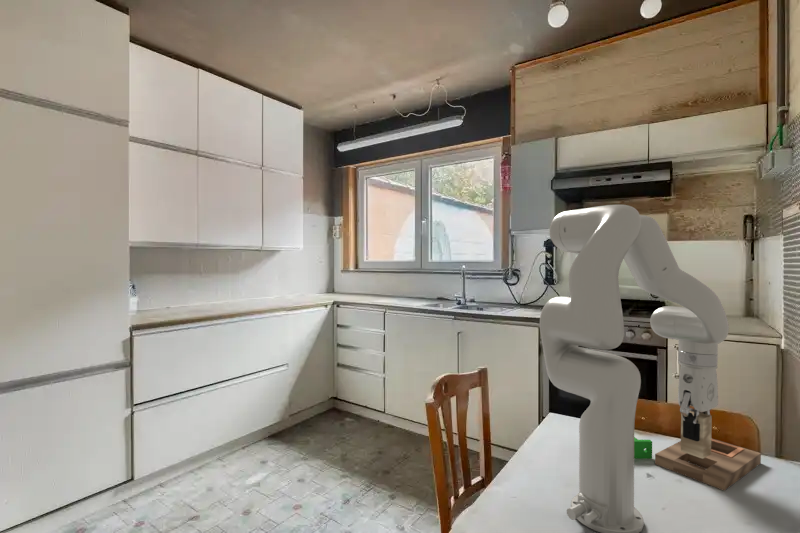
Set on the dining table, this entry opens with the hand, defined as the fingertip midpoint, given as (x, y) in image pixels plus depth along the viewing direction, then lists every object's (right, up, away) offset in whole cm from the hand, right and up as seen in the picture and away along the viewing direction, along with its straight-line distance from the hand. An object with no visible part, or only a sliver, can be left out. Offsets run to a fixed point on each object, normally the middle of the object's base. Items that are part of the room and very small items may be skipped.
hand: (696, 436), depth 97 cm
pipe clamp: (-12, -9, +8) cm, 17 cm away
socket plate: (+6, -8, +4) cm, 11 cm away
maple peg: (0, -4, 0) cm, 4 cm away
